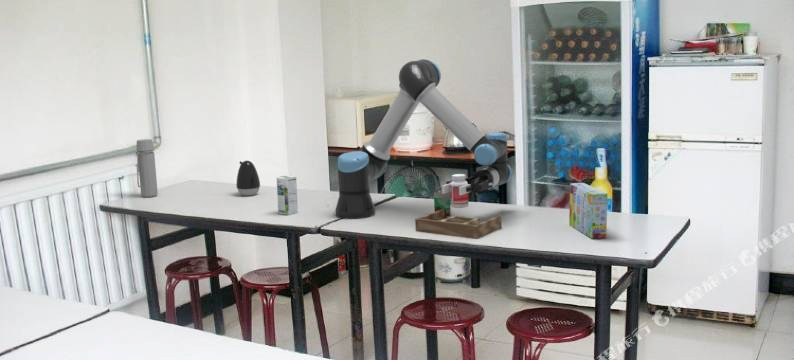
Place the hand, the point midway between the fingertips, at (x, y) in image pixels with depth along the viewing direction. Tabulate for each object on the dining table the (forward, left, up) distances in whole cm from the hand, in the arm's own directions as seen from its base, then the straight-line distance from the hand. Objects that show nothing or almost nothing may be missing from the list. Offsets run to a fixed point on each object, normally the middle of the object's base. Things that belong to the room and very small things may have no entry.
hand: (451, 190), depth 288 cm
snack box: (+13, +43, -15) cm, 48 cm away
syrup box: (-50, -54, -15) cm, 75 cm away
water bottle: (-106, -113, -15) cm, 155 cm away
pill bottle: (-4, +4, -7) cm, 8 cm away
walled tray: (-4, +3, -14) cm, 15 cm away
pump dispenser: (-94, -69, -15) cm, 117 cm away
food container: (-26, +3, -15) cm, 30 cm away
